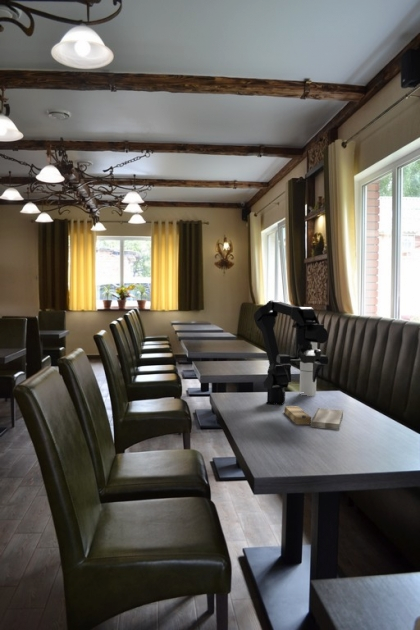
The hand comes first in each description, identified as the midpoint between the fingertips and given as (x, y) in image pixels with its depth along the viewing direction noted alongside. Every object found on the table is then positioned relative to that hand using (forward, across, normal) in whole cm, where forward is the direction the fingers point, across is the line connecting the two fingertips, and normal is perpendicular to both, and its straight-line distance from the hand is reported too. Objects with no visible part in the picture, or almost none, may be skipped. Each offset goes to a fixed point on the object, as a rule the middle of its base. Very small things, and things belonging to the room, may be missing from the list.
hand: (301, 382), depth 176 cm
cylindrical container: (+12, +13, +30) cm, 35 cm away
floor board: (+11, +5, -13) cm, 18 cm away
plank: (+11, -4, -10) cm, 15 cm away
